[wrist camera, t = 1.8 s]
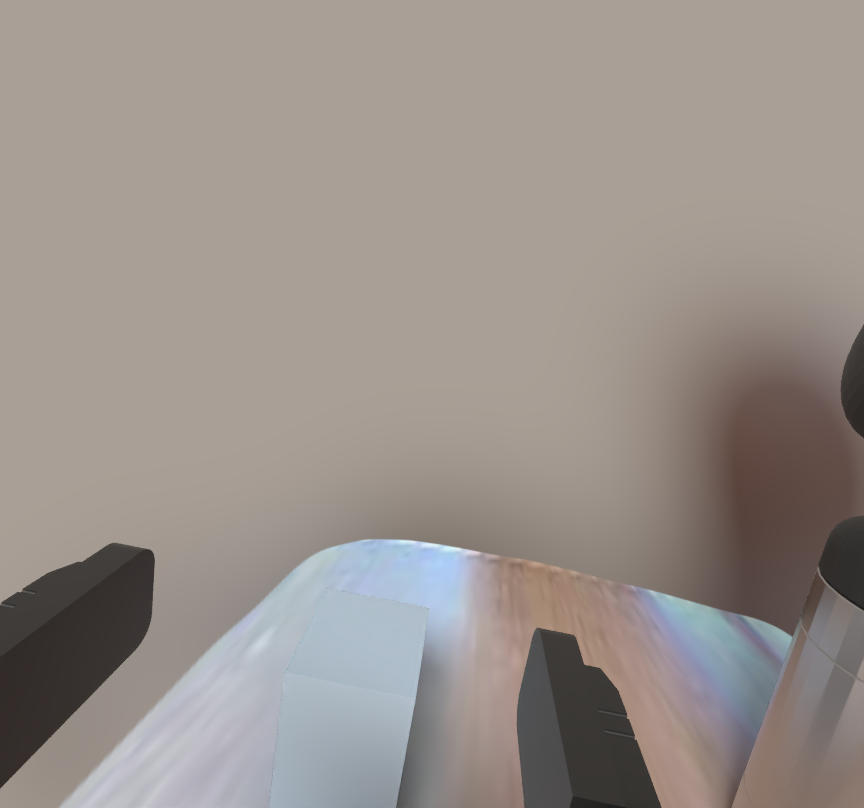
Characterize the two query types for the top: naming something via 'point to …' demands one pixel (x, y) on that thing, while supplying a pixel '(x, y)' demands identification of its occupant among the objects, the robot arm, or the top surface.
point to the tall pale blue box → (349, 704)
